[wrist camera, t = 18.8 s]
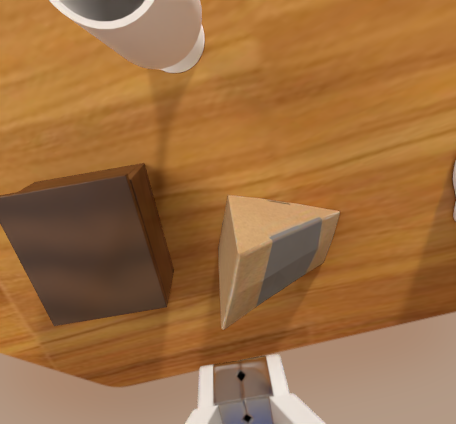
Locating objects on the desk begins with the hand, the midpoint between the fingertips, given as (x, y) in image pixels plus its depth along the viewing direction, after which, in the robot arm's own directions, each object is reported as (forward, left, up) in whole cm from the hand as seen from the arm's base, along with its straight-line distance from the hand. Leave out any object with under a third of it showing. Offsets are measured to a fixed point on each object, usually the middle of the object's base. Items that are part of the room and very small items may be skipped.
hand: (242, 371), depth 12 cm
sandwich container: (-11, +4, -29) cm, 32 cm away
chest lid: (+9, +14, -22) cm, 28 cm away
